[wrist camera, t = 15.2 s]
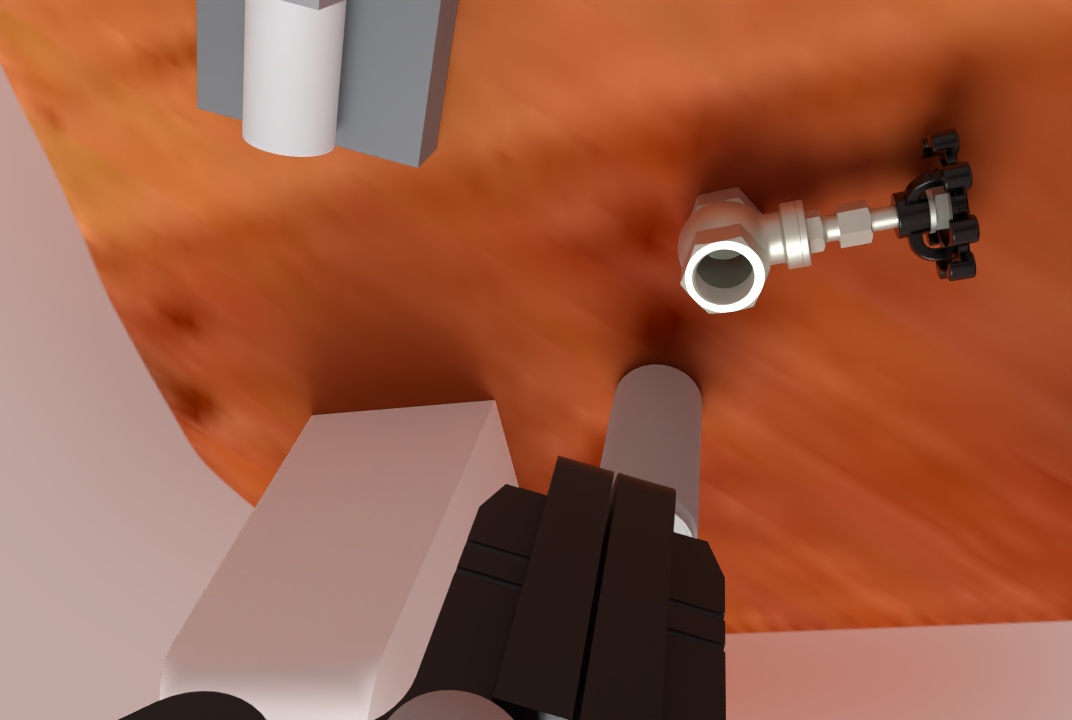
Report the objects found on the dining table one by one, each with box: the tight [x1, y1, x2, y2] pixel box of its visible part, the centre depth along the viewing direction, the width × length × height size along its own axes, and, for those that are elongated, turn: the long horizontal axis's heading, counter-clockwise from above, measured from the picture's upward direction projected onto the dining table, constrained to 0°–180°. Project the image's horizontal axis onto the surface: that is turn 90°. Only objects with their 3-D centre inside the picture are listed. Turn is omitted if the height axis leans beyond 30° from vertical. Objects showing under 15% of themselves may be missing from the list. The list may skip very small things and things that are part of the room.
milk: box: [160, 400, 519, 720], centre depth 43 cm, size 12×12×26 cm
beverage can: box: [600, 364, 702, 539], centre depth 42 cm, size 5×5×12 cm
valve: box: [678, 129, 980, 314], centre depth 38 cm, size 7×7×12 cm
